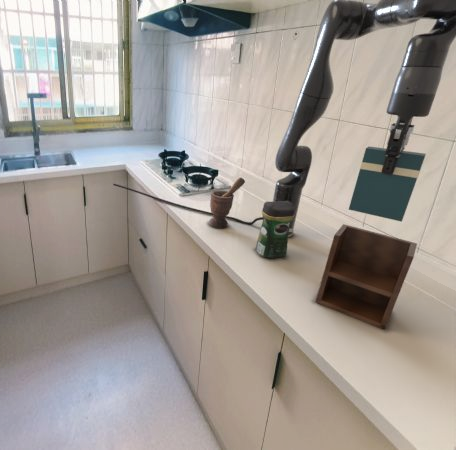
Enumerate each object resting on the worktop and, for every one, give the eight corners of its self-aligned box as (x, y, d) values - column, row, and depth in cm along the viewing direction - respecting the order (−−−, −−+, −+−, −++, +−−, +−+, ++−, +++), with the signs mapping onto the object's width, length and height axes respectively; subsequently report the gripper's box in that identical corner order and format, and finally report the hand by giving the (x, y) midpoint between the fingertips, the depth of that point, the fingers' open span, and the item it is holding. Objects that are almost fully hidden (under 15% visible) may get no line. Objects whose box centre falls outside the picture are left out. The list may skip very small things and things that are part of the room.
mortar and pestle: (231, 219, 140) (237, 172, 132) (240, 228, 132) (247, 179, 124) (204, 221, 138) (210, 173, 130) (212, 229, 130) (218, 179, 122)
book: (348, 209, 83) (365, 148, 77) (351, 205, 85) (368, 146, 79) (401, 221, 77) (425, 155, 71) (403, 217, 79) (426, 153, 73)
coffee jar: (277, 247, 119) (287, 197, 111) (289, 258, 112) (301, 205, 104) (251, 248, 117) (260, 198, 109) (262, 260, 110) (272, 206, 102)
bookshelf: (315, 302, 90) (334, 234, 82) (324, 287, 96) (343, 224, 88) (384, 329, 81) (413, 257, 73) (389, 312, 87) (417, 243, 79)
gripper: (396, 90, 77) (374, 164, 84) (388, 90, 67) (363, 174, 74) (437, 92, 73) (410, 170, 80) (434, 92, 63) (404, 181, 70)
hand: (388, 172), depth 77 cm, fingers closed on book, 3 cm apart
